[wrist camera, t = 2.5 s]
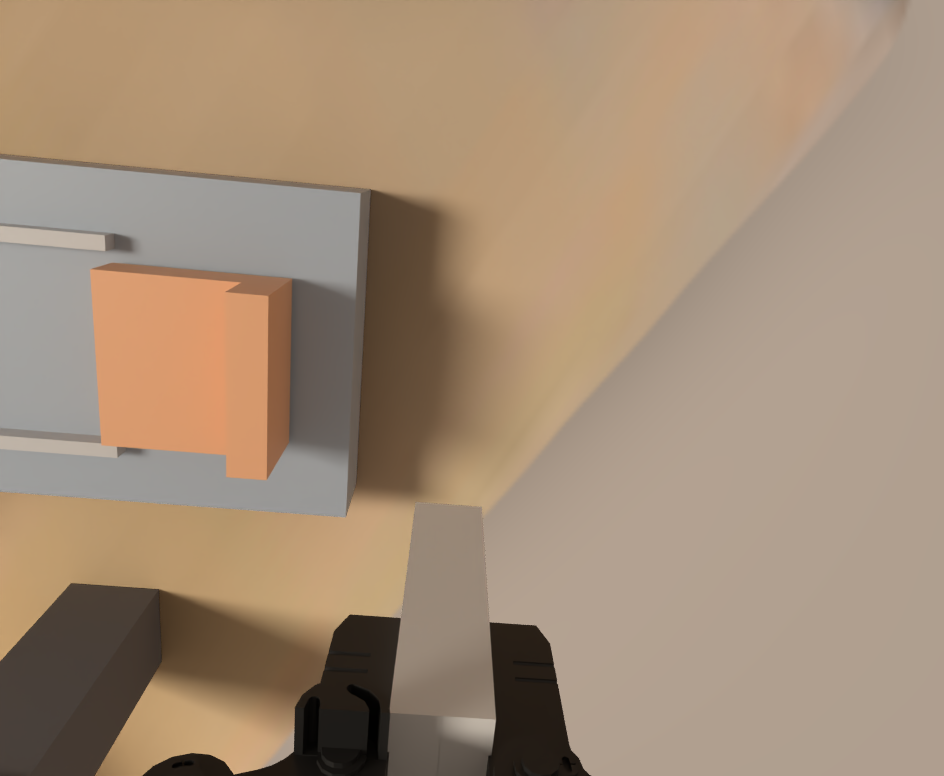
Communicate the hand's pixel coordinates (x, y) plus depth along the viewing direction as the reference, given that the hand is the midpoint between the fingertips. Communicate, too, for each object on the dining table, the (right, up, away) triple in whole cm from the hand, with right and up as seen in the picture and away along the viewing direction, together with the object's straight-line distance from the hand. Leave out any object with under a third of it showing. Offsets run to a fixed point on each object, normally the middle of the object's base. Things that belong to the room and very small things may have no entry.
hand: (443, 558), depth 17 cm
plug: (-18, -8, +21) cm, 29 cm away
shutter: (-10, +5, +13) cm, 17 cm away
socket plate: (-13, +7, +16) cm, 22 cm away
